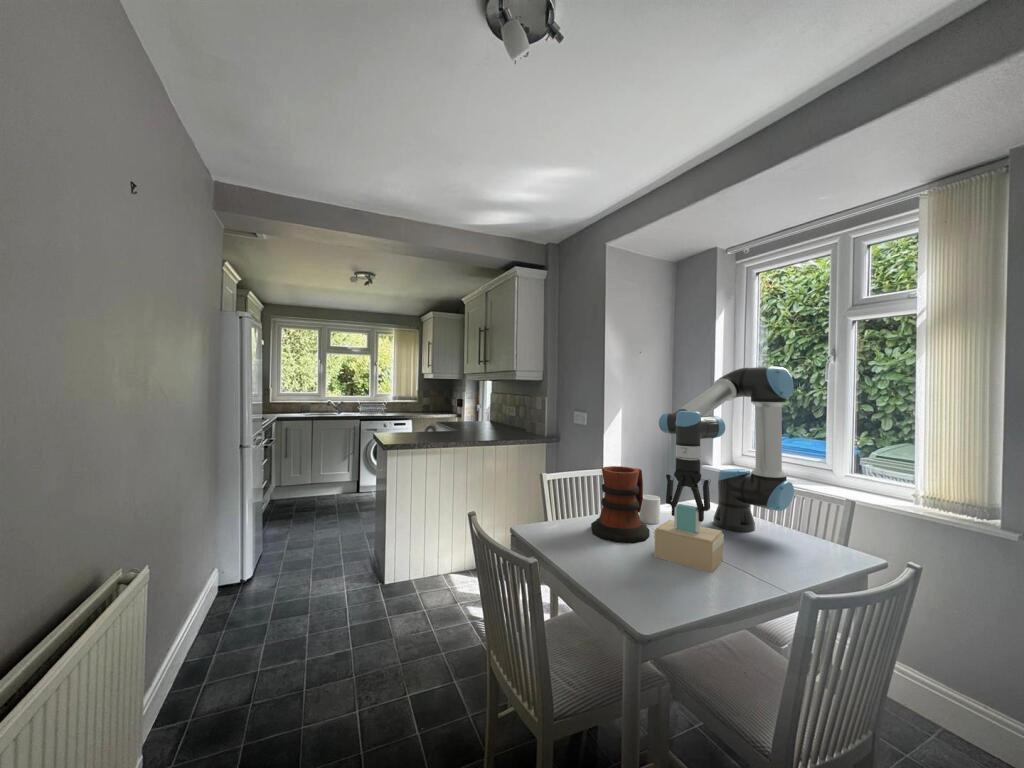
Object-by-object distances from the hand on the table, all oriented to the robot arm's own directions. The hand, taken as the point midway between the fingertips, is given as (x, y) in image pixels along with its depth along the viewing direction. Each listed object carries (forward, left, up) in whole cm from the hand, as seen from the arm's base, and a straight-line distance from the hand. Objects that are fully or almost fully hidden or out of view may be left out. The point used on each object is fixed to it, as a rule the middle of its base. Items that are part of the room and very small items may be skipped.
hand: (687, 528), depth 139 cm
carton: (-1, 0, -10) cm, 10 cm away
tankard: (-10, -28, -11) cm, 32 cm away
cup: (-31, -27, -11) cm, 43 cm away
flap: (+2, 0, -1) cm, 2 cm away
